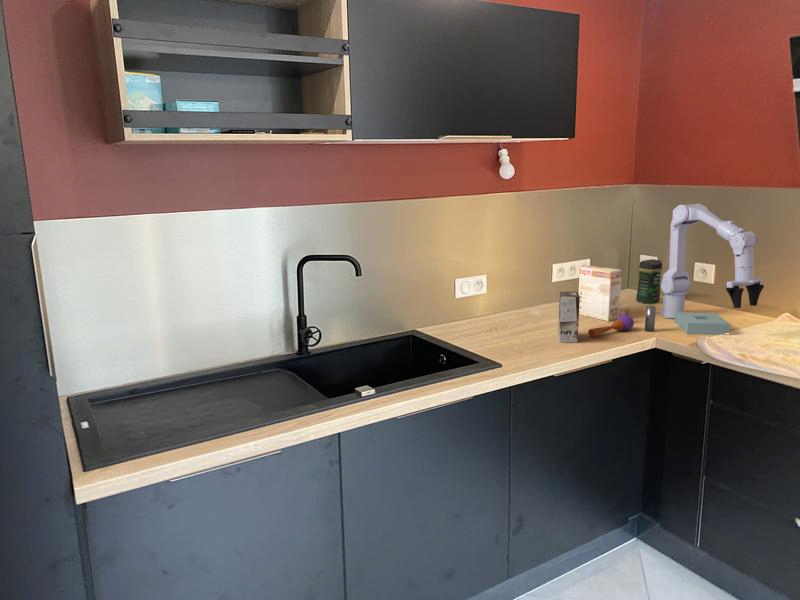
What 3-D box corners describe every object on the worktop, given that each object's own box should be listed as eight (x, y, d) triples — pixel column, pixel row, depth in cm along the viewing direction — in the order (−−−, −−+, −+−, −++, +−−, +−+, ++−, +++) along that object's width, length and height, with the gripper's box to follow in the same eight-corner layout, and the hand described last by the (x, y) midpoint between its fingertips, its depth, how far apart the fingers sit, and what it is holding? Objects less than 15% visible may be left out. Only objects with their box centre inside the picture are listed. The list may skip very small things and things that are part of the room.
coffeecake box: (619, 319, 244) (622, 269, 240) (607, 321, 240) (610, 271, 236) (588, 311, 256) (591, 264, 252) (576, 314, 252) (579, 266, 248)
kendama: (584, 325, 222) (622, 313, 231) (586, 341, 222) (625, 328, 232) (596, 325, 216) (635, 313, 226) (599, 342, 217) (638, 329, 227)
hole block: (674, 322, 237) (675, 312, 236) (714, 323, 235) (715, 313, 234) (686, 333, 222) (687, 323, 221) (729, 334, 220) (730, 323, 219)
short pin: (618, 321, 240) (619, 309, 239) (626, 321, 239) (627, 309, 238) (619, 323, 237) (620, 311, 236) (628, 324, 236) (629, 311, 235)
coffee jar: (649, 305, 265) (652, 261, 261) (633, 302, 272) (635, 259, 268) (663, 302, 271) (666, 259, 266) (646, 299, 277) (649, 257, 273)
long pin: (643, 329, 228) (645, 305, 226) (653, 329, 228) (654, 305, 226) (645, 332, 225) (647, 307, 223) (655, 332, 225) (656, 307, 223)
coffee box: (578, 342, 213) (580, 296, 210) (558, 342, 215) (560, 296, 211) (576, 335, 222) (578, 291, 219) (557, 335, 223) (559, 290, 220)
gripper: (738, 269, 209) (740, 309, 210) (770, 265, 214) (771, 305, 215) (721, 269, 215) (722, 308, 216) (751, 265, 220) (752, 304, 222)
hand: (745, 306), depth 216 cm, fingers open, 7 cm apart
